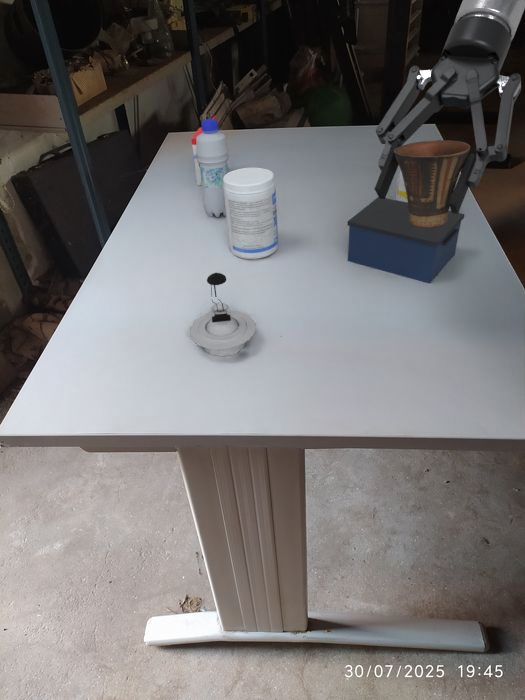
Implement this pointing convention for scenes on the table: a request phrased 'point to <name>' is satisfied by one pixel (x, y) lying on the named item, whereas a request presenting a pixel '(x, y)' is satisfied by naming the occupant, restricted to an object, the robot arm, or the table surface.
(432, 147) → the cup
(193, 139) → the spray bottle
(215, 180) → the bottle
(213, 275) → the round stand with stem
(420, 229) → the storage box
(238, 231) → the supplement tub
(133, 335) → the table surface
